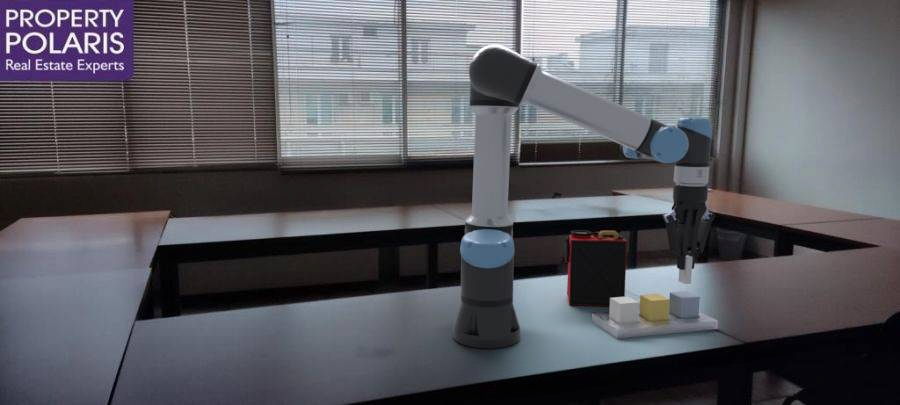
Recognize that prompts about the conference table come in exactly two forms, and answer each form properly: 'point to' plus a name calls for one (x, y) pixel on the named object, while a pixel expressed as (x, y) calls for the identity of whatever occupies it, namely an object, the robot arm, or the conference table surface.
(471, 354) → the conference table surface
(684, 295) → the slate key
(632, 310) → the ivory key
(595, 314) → the key panel
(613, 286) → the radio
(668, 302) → the mustard key
